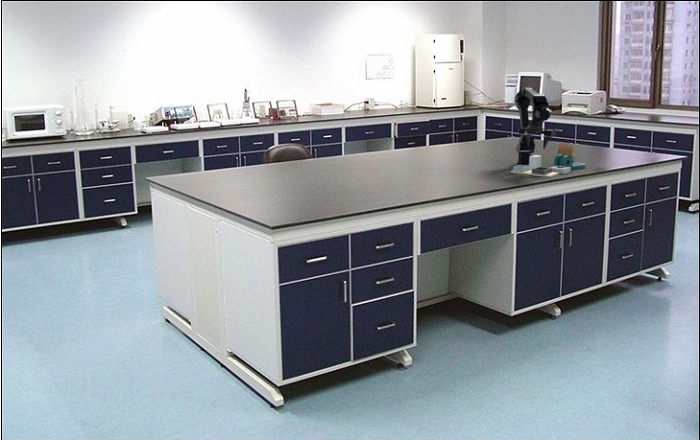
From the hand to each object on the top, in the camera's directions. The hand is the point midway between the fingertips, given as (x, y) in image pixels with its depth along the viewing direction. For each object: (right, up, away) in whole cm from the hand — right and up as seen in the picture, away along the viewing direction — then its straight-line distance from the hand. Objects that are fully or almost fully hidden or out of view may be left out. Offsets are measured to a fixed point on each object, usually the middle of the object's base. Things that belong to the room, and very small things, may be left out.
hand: (535, 148), depth 382 cm
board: (-4, -14, -11) cm, 18 cm away
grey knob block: (+10, -13, -8) cm, 19 cm away
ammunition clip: (+21, -7, +18) cm, 28 cm away
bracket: (+19, -11, +2) cm, 22 cm away
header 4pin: (-1, -15, -13) cm, 20 cm away
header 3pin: (-9, -13, -6) cm, 17 cm away
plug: (0, -11, +3) cm, 11 cm away
